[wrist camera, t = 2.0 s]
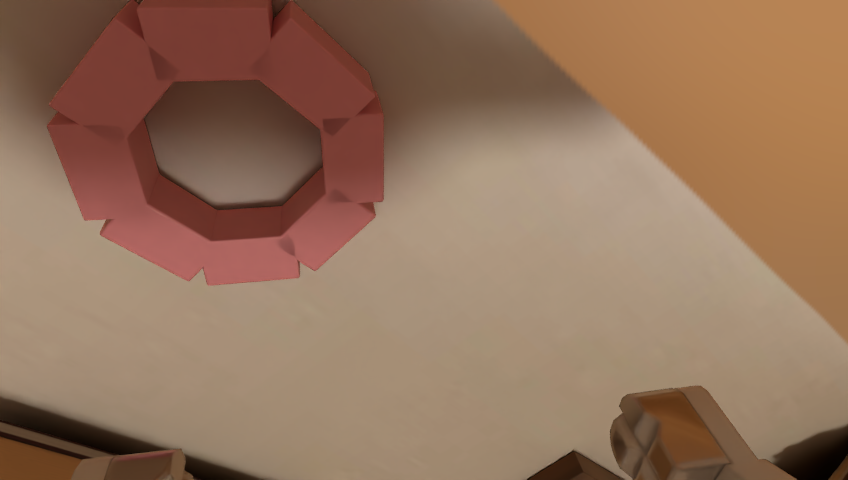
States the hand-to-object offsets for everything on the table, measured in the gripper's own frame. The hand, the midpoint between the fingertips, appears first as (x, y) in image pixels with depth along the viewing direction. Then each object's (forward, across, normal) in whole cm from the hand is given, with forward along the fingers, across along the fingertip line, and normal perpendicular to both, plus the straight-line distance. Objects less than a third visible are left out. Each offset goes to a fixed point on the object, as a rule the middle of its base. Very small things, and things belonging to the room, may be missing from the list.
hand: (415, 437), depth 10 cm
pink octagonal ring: (+12, +4, 0) cm, 13 cm away
